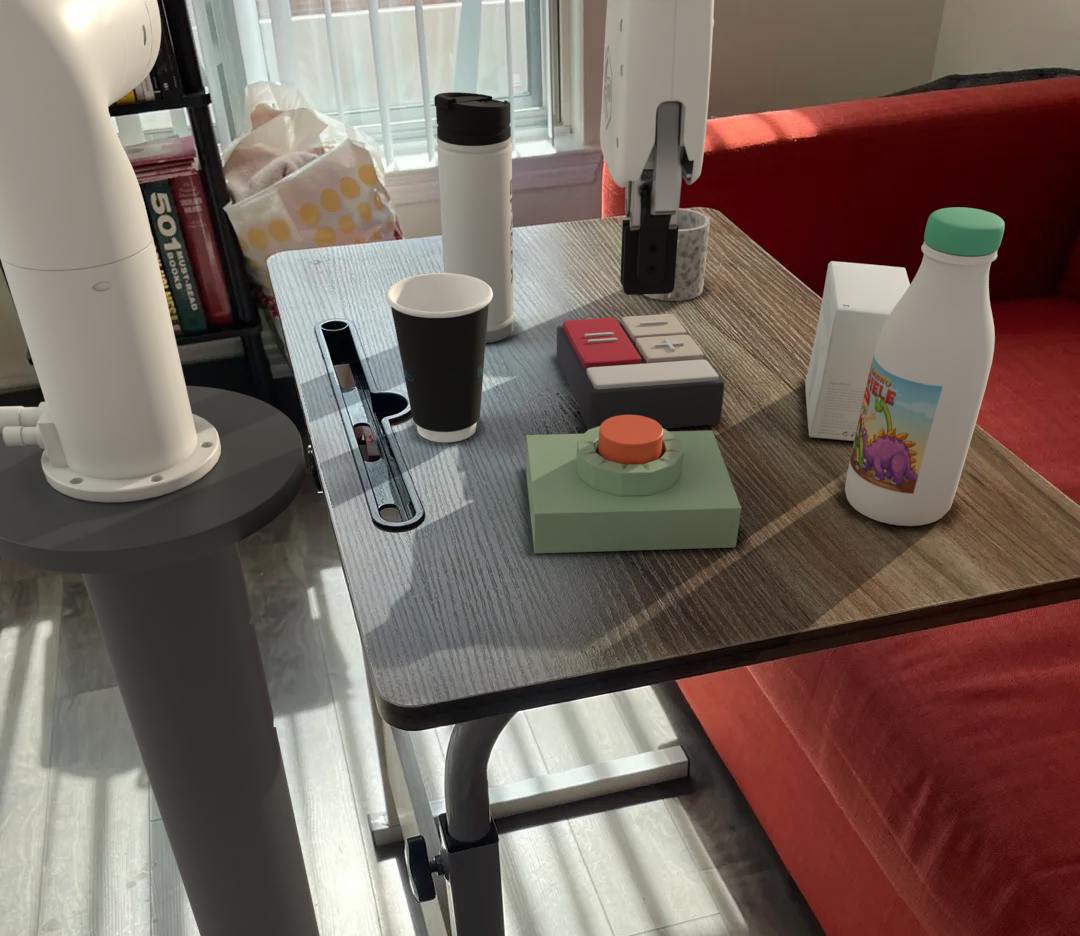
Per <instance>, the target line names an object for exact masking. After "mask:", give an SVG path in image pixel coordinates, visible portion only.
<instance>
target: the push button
mask: <svg viewBox="0 0 1080 936" xmlns="http://www.w3.org/2000/svg"><path fill="white" fill-rule="evenodd" d="M662 439H663V429H662V426H661V425H660V424H659V423H658V422H656V421H655V420H653V419H651V418H648V417H644V416H639V415H619V416H614V417H611V418H609V419H607V420H605V421H604V422H603V423H602V424H601V425H600V428H599V446H598V452H599V454H600V456H601V457H603V458H604V459H606V460H609V461H613V462H617V463H621V464H625V465H631V464H646V463H649V462H651V461H654V460H657V459H659V457H660V456H661V451H662Z"/></svg>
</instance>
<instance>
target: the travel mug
mask: <svg viewBox="0 0 1080 936" xmlns="http://www.w3.org/2000/svg"><path fill="white" fill-rule="evenodd" d="M433 100H434V101H433V102H434V106H435V117H436V118H435V119H436V124H437V126H436V144H437V145H436V146H437V148H436V149H437V168H438V186H439V203H440V205H439V207H440V219H441V220H440V223H441V241H442V261H443V273H453V274H461V275H467V276H471V277H474V278H477V279H480V280H482V281H483V282H485V283H486V284H488V285H489V286H490V288H491V289H492V292H493V297H492V300H491V301H490V303H489V308H488V320H487V333H486V344H491V343H496V342H499V341H502V340H504V339H507V338H508V337H509V336H511V334H512V333H513V332H514V330H515V322H514V321H515V320H514V319H515V318H514V317H515V316H514V310H515V309H514V307H515V306H514V305H515V304H514V302H515V301H514V233H513V232H514V231H513V230H514V229H513V228H514V227H513V226H514V225H513V221H514V220H513V154H512V153H513V151H512V149H513V147H512V146H513V145H512V139H513V138H512V137H513V136H512V127H511V122H512V121H511V120H512V119H511V118H512V117H511V116H512V115H511V114H512V113H511V101H508V100H504V101H502V100H498V99H493V96H492V95H487V94H483V93H473V92H458V91H457V92H456V91H454V92H451V91H450V92H441V93H437V94H435V96H434V98H433Z"/></svg>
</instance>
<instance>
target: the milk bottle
mask: <svg viewBox="0 0 1080 936" xmlns="http://www.w3.org/2000/svg"><path fill="white" fill-rule="evenodd" d="M1005 224H1006V223H1005V221H1004V220H1003V218H1002V217H1000V216H999V215H997V214H995V213H993V212H990V211H987V210H984V209H979V208H973V207H961V206H959V207H957V206H956V207H953V206H952V207H944V208H940V209H937V210H934V211H933V212H931V213H930V214H929V216H928V218H927V222H926V224H925V229H924V235H923V240H924V241H923V244H922V245H921V248H920V249H921V252H922V253H923V256H922V260H921V262H920V266H919V268H918V269H917V272H916V274H915V275H914V278H913V279H912V281H911V283H910V286H909V288H908V289H907V291H906V292H905V293H904V295H903V296H902V298H901V299H900V300H899V302H898V303H897V304H896V306H895V307H894V309H893V310H892V312H891V313H890V315H889V317H888V318H887V320H886V322H885V324H884V326H883V328H882V330H881V333H880V336H879V338H878V341H877V344H876V348H875V352H874V356H873V360H872V363H871V367H870V371H869V376H868V380H867V385H866V389H865V394H864V398H863V403H862V407H861V411H860V416H859V421H858V425H857V430H856V435H855V439H854V441H853V444H852V449H851V454H850V458H849V463H848V468H847V472H846V479H845V484H844V493H845V497H846V499H847V502H848V503H849V505H850V506H851V507H852V508H853V509H854V510H855V511H856V512H859V513H860V514H861V515H863V516H865V517H867V518H869V519H871V520H874V521H877V522H880V523H883V524H884V523H885V524H887V525H895V526H902V527H903V526H904V527H916V526H924V525H929V524H931V523H934V522H937V521H939V520H940V519H943V517H944V516H945V515H946V514H947V513H948V512H949V510H950V509H951V508H952V505H953V502H954V500H955V496H956V493H957V489H958V486H959V483H960V480H961V476H962V473H963V469H964V466H965V463H966V459H967V457H968V456H967V455H968V451H969V448H970V446H971V441H972V438H973V434H974V432H975V429H976V425H977V421H978V417H979V413H980V410H981V406H982V403H983V399H984V395H985V392H986V388H987V385H988V380H989V376H990V372H991V368H992V364H993V360H994V359H993V358H994V352H995V343H996V342H995V341H996V336H995V324H994V317H993V312H992V308H991V307H992V306H991V300H990V288H989V287H990V285H989V284H990V282H989V281H990V270H991V265H992V262H994V261H996V260H997V258H998V250H999V249H1000V246H1001V244H1002V241H1003V237H1004V233H1005V229H1006V228H1005V226H1006V225H1005Z"/></svg>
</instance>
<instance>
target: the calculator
mask: <svg viewBox="0 0 1080 936" xmlns="http://www.w3.org/2000/svg"><path fill="white" fill-rule="evenodd" d="M556 360H557V362H558V364H559V366H560V368H561V370H562V372H563V374H564V376H565V378H566V381H567V383H568V385H569V387H570V389H571V391H572V393H573V395H574V397H575V398H576V401H577V403H578V408H579V413H580V414H579V415H580V417H581V419H582V421H583V423H584V425H585V428H586V429H587V431H588V430H589V429H592V428H595V427H599V426H600V425H601V424H602V423H603V422H604V421H605V420H607V419H609V418H611V417H614V416H619V415H639V416H644V417H648V418H651V419H653V420H655V421H656V422H658V423H659V424H660V425H661V426H662V428H664V429H675V428H689V427H699V426H701V427H702V426H713V425H715V426H716V425H720V423H722V416H723V415H722V414H723V405H724V396H725V395H724V394H725V385H726V382H725V380H724V378H723V377H722V376H721V374H720V373H719V372H718V370H717V369H716V368H715V367H714V365H713V364H712V362H711V361H710V360H709V358H707V356H706V355H705V354H704V352H703V351H702V350H701V348H700V347H699V345H697V343H696V342H695V341H694V339H693V338H692V337H691V335H690V334H689V332H688V331H687V330H686V329H685V327H684V326H683V324H682V323H681V322H680V321H679V320H678V318H677V316H675V314H673V313H662V314H661V313H660V314H647V315H631V316H628V315H627V316H623V317H622V318H621V321H619V320H617V318H616V317H599V318H584V319H583V318H582V319H570V320H568V319H567V320H563V322H562V325H558V326H557V327H556Z"/></svg>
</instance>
